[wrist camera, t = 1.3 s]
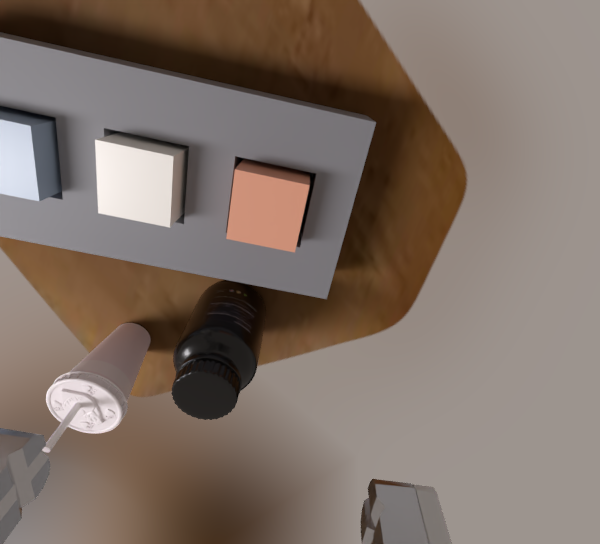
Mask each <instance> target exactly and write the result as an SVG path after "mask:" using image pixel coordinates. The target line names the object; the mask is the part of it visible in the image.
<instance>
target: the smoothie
mask: <svg viewBox="0 0 600 544" xmlns="http://www.w3.org/2000/svg"><path fill="white" fill-rule="evenodd" d="M150 341H151V339H150V335H149V333H148V332H147V330H146V329H145V328H143V327H142V326H140V325H138V324H135V323H124V324H121V325H120V326H119V327H118V328H116V329H115V330H114V331H113V332H112V333H111V334H110V335H109V336H108V337H107V338H106V339H104V340H103V341H102V342H101V343H100V344H99V345H98V346H97V347H96V348H95V349H94V350H93V351H91V352H90V353H89V354H88V355H87V356H86V357H85V358H84V359H83V360H82V361H81V362H79V364H77V365H76V366H75V367H74V368H73V369H72V370H71V371H70V372H68V373H65V374H63V375H61V376H60V377H58V378H57V379H56V380H55V381H54V383H53V385H52V386H51V387H50V388H49V390H48V391H47V394H46V402H47V406H48V408H49V410H50V411H51V413H52V414H53V415H54V417H55V418H56V419H58V420H59V421H60V422H61V424H60V425H59V426H58V428H57V429H56V430H55V432H54V433H53V435H52V436H51V438H50V439H49V440H48V442H47V443H46V446H45V447H44V448H43V449H42V450H43V451H44V452H50V451H51V449H52V448H53V446H54V445H55V443H56V442H57V440H58V439H59V438H60V436H61V435H62V434H63V432H64V431H65V429H66V428H67V427H70V428H72V429H74V430H77V431H81V432H85V433H104V432H107V431H110V430H112V429H114V428H115V427H117V426H118V425H119V423H120V422H121V420H122V419H123V417H124V416H125V415H126V412H127V408H128V406H127V400H128V397H129V395H130V393H131V390H132V387H133V385H134V382H135V380H136V377H137V375H138V372H139V370H140V367H141V365H142V362H143V360H144V357H145V355H146V352H147V350H148V347H149V345H150Z"/></svg>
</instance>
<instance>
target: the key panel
mask: <svg viewBox="0 0 600 544" xmlns="http://www.w3.org/2000/svg"><path fill="white" fill-rule="evenodd" d="M0 106H4V107H9V108H14V109H18V110H23V111H28V112H32V113H37V114H41V115H46V116H51V117H55V118H56V128H57V139H58V151H59V162H60V173H61V185H62V191H61V192H59V193H57V194H55V195H52V196H50V197H48V198H46V199H44V200H41V201H35V200H30V199H25V198H20V197H15V196H10V195H5V194H0V236H1V237H6V238H12V239H17V240H22V241H27V242H32V243H37V244H43V245H48V246H53V247H58V248H63V249H69V250H74V251H79V252H84V253H89V254H95V255H100V256H105V257H110V258H115V259H120V260H126V261H131V262H136V263H141V264H146V265H152V266H157V267H162V268H167V269H172V270H177V271H183V272H188V273H193V274H198V275H203V276H209V277H214V278H219V279H224V280H229V281H235V282H240V283H245V284H250V285H255V286H260V287H266V288H271V289H276V290H281V291H286V292H292V293H297V294H302V295H307V296H312V297H318V298H323V299H327V296H328V293H329V289H330V286H331V282H332V279H333V275H334V271H335V268H336V264H337V261H338V257H339V254H340V250H341V246H342V243H343V239H344V236H345V232H346V229H347V225H348V221H349V218H350V214H351V211H352V207H353V204H354V200H355V196H356V193H357V189H358V186H359V182H360V179H361V175H362V171H363V168H364V164H365V161H366V157H367V154H368V150H369V146H370V143H371V139H372V136H373V132H374V129H375V125H376V122H375V121H374V120H372V119H371V118H369V117H368V116H366V115H362V114H358V113H353V112H349V111H345V110H340V109H336V108H331V107H327V106H323V105H318V104H314V103H309V102H305V101H301V100H296V99H292V98H287V97H283V96H279V95H274V94H270V93H265V92H261V91H257V90H252V89H248V88H243V87H239V86H235V85H230V84H226V83H221V82H217V81H213V80H208V79H204V78H200V77H195V76H191V75H186V74H182V73H178V72H173V71H169V70H164V69H160V68H156V67H151V66H147V65H142V64H138V63H134V62H129V61H125V60H120V59H116V58H112V57H107V56H103V55H98V54H94V53H90V52H85V51H81V50H76V49H72V48H68V47H63V46H59V45H55V44H50V43H46V42H41V41H37V40H33V39H28V38H24V37H19V36H15V35H11V34H6V33H2V32H0ZM120 132H125V133H130V134H134V135H139V136H144V137H148V138H153V139H158V140H162V141H167V142H172V143H176V144H181V145H186V146H189V156H188V171H187V186H186V201H185V212H184V213H183V214H182V215H181V217H180V218H179V219H178V220H177V221H176V222H175V223H174V224H173V225H172V226H171V227H165V226H160V225H155V224H150V223H145V222H140V221H135V220H130V219H125V218H120V217H115V216H110V215H105V214H100V213H98V198H97V175H96V152H95V139H99V138H102V137H106V136H109V135H113V134H116V133H120ZM244 158H246V159H251V160H255V161H260V162H265V163H269V164H274V165H279V166H283V167H288V168H293V169H297V170H302V171H306V172H310V186H309V191H308V195H307V200H306V204H305V209H304V214H303V218H302V223H301V227H300V232H299V236H298V241H297V245H296V250H295V252H290V251H285V250H280V249H275V248H270V247H265V246H260V245H255V244H250V243H245V242H240V241H235V240H230V239H226V237H227V229H228V221H229V213H230V204H231V196H232V188H233V180H234V172H235V169H236V167H237V166H238V165H239V164H240V163H241V161H242V160H243V159H244Z"/></svg>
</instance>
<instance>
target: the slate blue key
mask: <svg viewBox="0 0 600 544" xmlns="http://www.w3.org/2000/svg"><path fill="white" fill-rule="evenodd" d="M61 191H62V185H61V173H60V162H59V151H58V139H57V128H56V118H55V117H51V116H46V115H41V114H37V113H32V112H28V111H23V110H18V109H14V108H9V107H4V106H0V194H5V195H10V196H15V197H20V198H25V199H30V200H35V201H41V200H44V199H46V198H48V197H50V196H52V195H55V194H57V193H59V192H61Z"/></svg>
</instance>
